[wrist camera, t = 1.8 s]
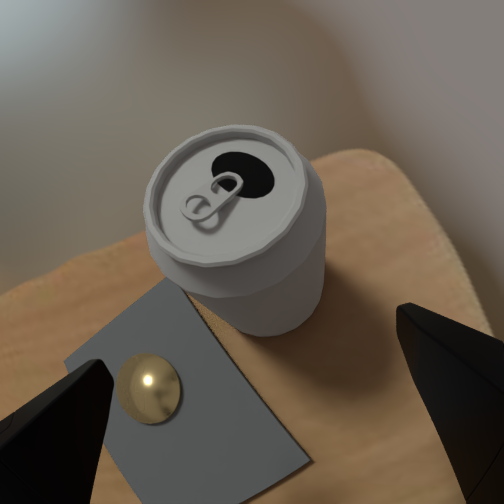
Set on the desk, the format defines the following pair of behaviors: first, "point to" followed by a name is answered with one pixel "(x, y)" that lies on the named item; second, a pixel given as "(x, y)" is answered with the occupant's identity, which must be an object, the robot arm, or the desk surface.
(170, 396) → the gold metal dome
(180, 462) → the mat
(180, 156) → the can
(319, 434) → the desk surface
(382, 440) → the desk surface
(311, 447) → the desk surface
